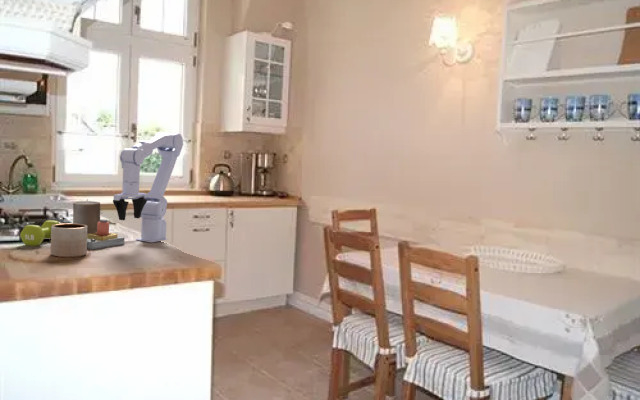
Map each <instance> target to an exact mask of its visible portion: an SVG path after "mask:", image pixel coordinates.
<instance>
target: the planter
mask: <svg viewBox="0 0 640 400" xmlns="http://www.w3.org/2000/svg"><path fill="white" fill-rule="evenodd" d="M87 251H88V249H87V225H83V224H73V222H72V223H60V224H55V225H52V226H51V240H50V255H51V256H53V257H55V256H58V257H57V258H63V257H72V258H79V256H80V257H83V256H86V254H87V253H88V252H87Z"/></svg>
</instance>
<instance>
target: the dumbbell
mask: <svg viewBox="0 0 640 400" xmlns="http://www.w3.org/2000/svg"><path fill="white" fill-rule="evenodd" d="M55 224H61V223H60V222H59V221H58V220H53V219H52V220H51V219H50V220H49V219H48V220H45V221H44V222H43V223H42V225H41V226H40V225H38V224H37V225H36V224H27V225H25V226H24V227H23V229H22V230H21V232H20V235H19V237H20V239H21V241H22V242H23V244H24V246H26V247H38V246H40V245H41V244H42V242H43V241H44V240H45V239H44V238H51V226H52V225H55Z"/></svg>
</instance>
